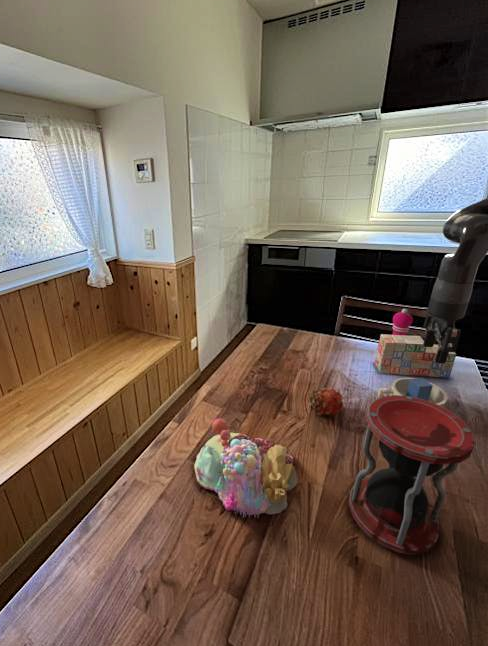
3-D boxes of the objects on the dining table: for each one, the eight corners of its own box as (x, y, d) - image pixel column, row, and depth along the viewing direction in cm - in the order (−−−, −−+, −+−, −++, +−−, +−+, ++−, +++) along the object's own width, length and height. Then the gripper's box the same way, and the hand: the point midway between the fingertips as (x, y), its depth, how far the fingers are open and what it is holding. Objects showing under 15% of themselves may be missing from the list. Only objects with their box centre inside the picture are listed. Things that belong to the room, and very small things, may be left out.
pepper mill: (408, 359, 124) (421, 309, 116) (398, 365, 120) (410, 314, 112) (389, 351, 129) (400, 303, 121) (378, 357, 126) (388, 308, 118)
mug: (431, 394, 105) (435, 379, 103) (451, 423, 93) (456, 408, 91) (370, 388, 109) (373, 374, 107) (382, 416, 97) (386, 401, 95)
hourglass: (351, 540, 66) (373, 444, 56) (346, 474, 80) (363, 388, 70) (449, 567, 61) (493, 467, 51) (425, 492, 75) (456, 402, 64)
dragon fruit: (309, 424, 98) (331, 411, 105) (334, 422, 91) (356, 408, 99) (298, 395, 100) (321, 385, 107) (323, 391, 93) (345, 380, 100)
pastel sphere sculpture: (298, 446, 88) (301, 419, 85) (296, 532, 68) (300, 500, 64) (206, 430, 96) (205, 404, 92) (180, 502, 76) (177, 472, 72)
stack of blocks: (441, 368, 117) (450, 337, 112) (449, 378, 112) (459, 346, 107) (374, 363, 123) (380, 333, 117) (378, 373, 117) (385, 341, 112)
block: (416, 399, 103) (422, 377, 99) (426, 407, 99) (433, 385, 96) (404, 400, 102) (410, 379, 99) (413, 409, 99) (420, 386, 95)
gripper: (482, 308, 75) (462, 370, 82) (455, 288, 88) (439, 342, 94) (443, 307, 77) (426, 367, 84) (422, 287, 90) (409, 340, 96)
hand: (433, 354), depth 89 cm, fingers open, 8 cm apart
